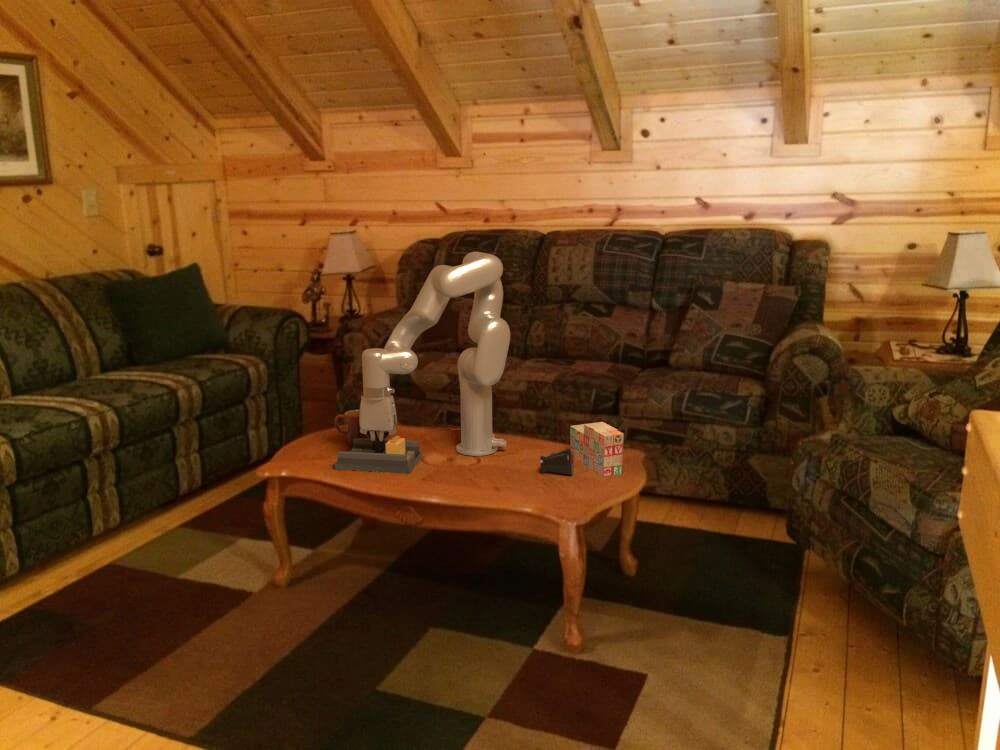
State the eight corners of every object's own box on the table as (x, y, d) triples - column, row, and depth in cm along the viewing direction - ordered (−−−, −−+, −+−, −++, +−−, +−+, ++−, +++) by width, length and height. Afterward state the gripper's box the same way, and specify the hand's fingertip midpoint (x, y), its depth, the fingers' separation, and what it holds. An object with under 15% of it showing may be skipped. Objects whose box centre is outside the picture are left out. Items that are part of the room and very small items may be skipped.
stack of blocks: (569, 455, 255) (569, 415, 252) (588, 452, 257) (588, 413, 254) (603, 477, 235) (603, 435, 233) (622, 474, 237) (624, 432, 235)
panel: (422, 458, 253) (422, 448, 252) (409, 473, 239) (409, 463, 239) (351, 454, 256) (351, 445, 256) (335, 469, 243) (334, 459, 242)
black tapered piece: (572, 477, 234) (541, 480, 236) (579, 465, 252) (550, 467, 254) (568, 450, 234) (538, 453, 236) (576, 440, 251) (547, 442, 253)
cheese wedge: (405, 454, 249) (404, 435, 248) (399, 461, 243) (399, 441, 242) (392, 453, 250) (391, 435, 248) (386, 460, 244) (385, 441, 243)
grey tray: (419, 451, 253) (419, 440, 252) (405, 467, 239) (405, 456, 238) (355, 448, 256) (354, 437, 255) (337, 463, 242) (337, 453, 241)
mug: (376, 440, 270) (375, 409, 268) (371, 448, 262) (370, 416, 260) (339, 440, 271) (337, 409, 269) (332, 448, 262) (331, 416, 260)
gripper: (405, 389, 245) (407, 450, 249) (355, 387, 248) (358, 448, 252) (398, 395, 238) (400, 458, 242) (347, 394, 241) (350, 455, 245)
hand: (379, 452), depth 247 cm, fingers closed
